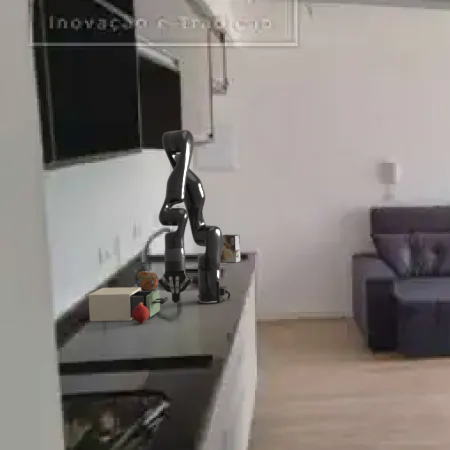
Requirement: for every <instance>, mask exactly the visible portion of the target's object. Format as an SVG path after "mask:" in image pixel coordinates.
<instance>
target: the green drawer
mask: <svg viewBox="0 0 450 450" xmlns="http://www.w3.org/2000/svg"><path fill="white" fill-rule="evenodd" d="M167 301H169V297H168V296H165V297H164V298H163V297H162V298H160V289H154V291H153V290H141V291H138V292H136V293H134V294H133V295H131V296H130V306H131V316H132V312H133V310H134V309H135V307H137V306H138V305H139V303H141V302H142V303H143V305H144V306H145V307H147V308H148V310H149V313H150V314H149V317H148V319H149V318H151V317H153V316H155V314H157V313H158V312H160V311H161V305H163V304H165V303H166V302H167Z"/></svg>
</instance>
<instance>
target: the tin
mask: <svg viewBox="0 0 450 450" xmlns="http://www.w3.org/2000/svg"><path fill="white" fill-rule="evenodd" d="M134 281H135V284H136V287H141V290H144V291H153V290H154V291H155V290H157V288H158V287H159V282H158V281H159V276H158V275H157V273H156V272H154V271H146V270H140V271H137V273H136V275H135V279H134Z"/></svg>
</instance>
